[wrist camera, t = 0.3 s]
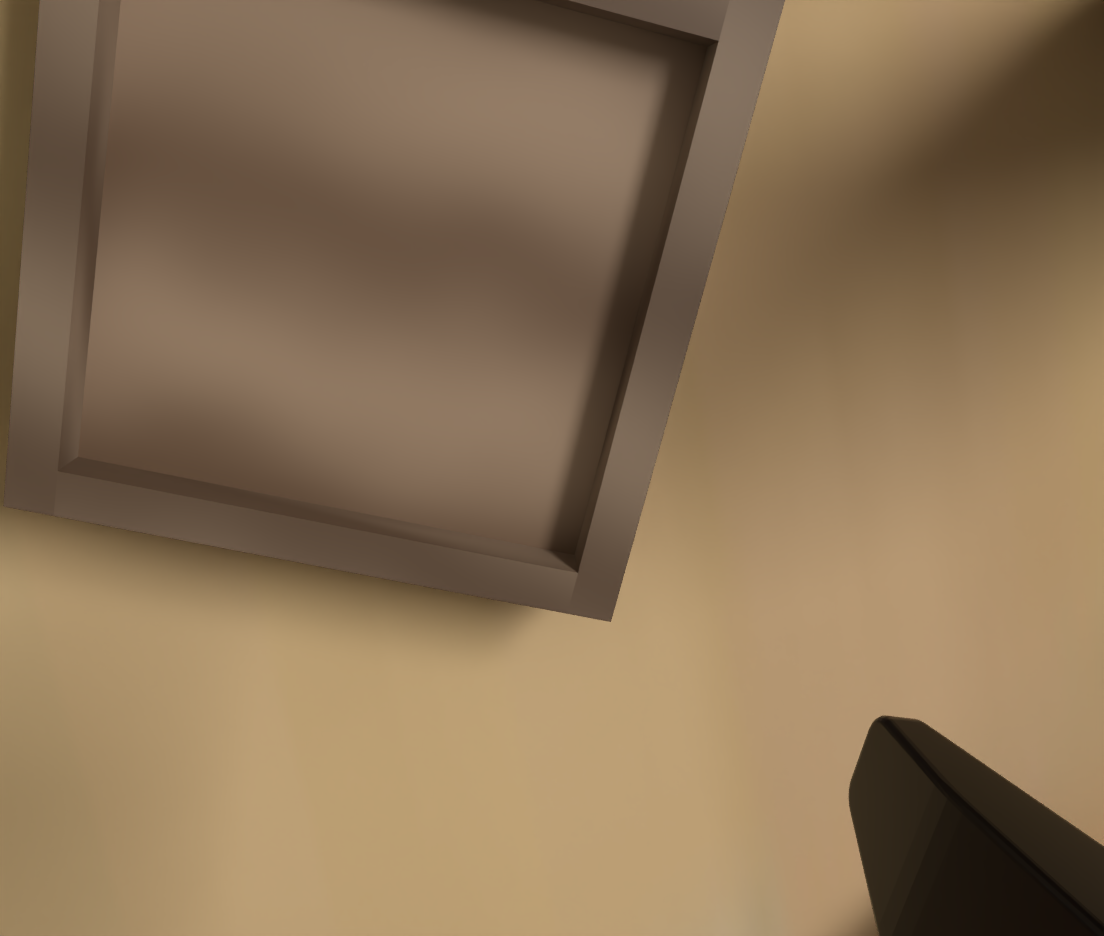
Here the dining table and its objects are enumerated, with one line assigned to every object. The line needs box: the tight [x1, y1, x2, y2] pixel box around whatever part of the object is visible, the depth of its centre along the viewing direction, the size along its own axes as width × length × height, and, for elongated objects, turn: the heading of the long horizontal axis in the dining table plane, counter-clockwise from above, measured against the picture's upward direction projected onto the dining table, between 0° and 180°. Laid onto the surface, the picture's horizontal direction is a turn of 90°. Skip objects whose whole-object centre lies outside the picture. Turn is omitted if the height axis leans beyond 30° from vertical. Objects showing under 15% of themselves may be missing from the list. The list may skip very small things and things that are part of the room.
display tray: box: [4, 0, 785, 622], centre depth 20 cm, size 13×13×3 cm
